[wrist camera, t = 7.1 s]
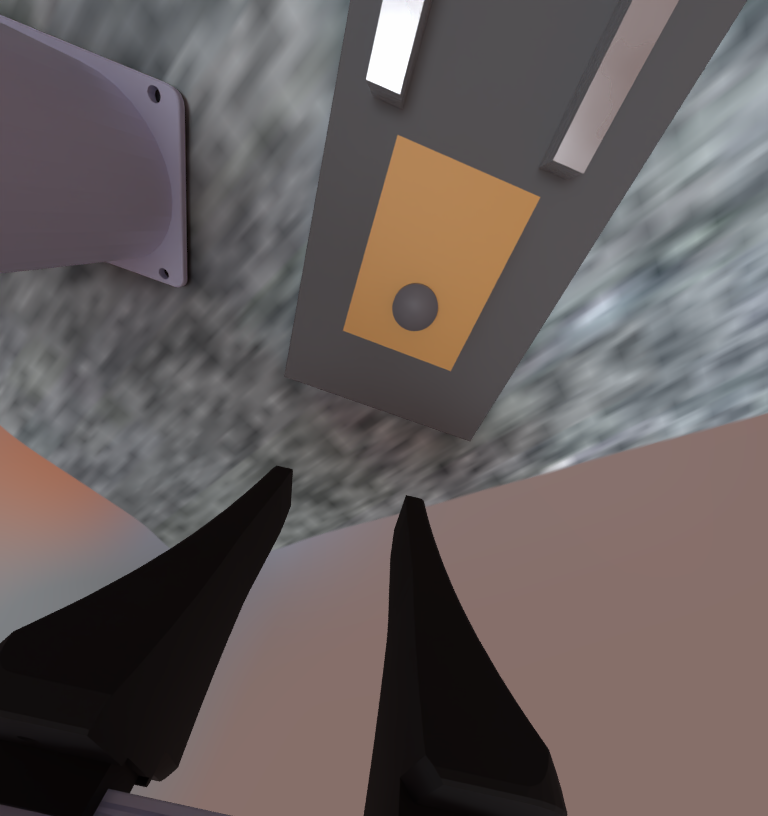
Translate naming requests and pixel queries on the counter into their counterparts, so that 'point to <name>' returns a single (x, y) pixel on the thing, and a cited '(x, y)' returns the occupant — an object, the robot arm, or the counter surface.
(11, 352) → the counter surface
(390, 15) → the sliding latch
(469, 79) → the mat
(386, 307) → the block
